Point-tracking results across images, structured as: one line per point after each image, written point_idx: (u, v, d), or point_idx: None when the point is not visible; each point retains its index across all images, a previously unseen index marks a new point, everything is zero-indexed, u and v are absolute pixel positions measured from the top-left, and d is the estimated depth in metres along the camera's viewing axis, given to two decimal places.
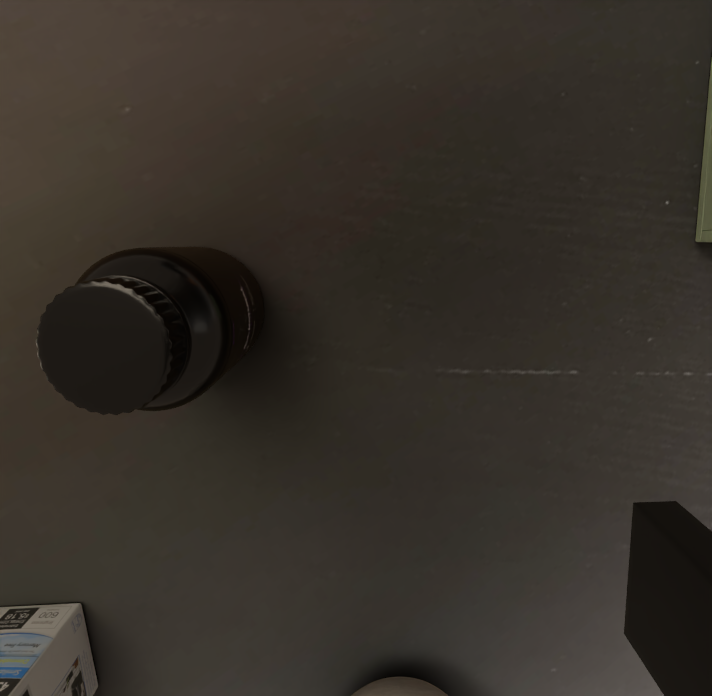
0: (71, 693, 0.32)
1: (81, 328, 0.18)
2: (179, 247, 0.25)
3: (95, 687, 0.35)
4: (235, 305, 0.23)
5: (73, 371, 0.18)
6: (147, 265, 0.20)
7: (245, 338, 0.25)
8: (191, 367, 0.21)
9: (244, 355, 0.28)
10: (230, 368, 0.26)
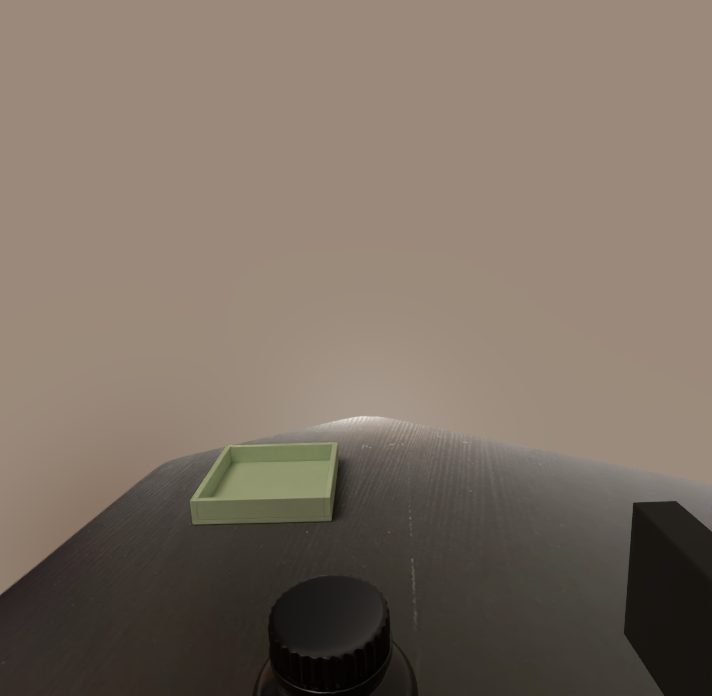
0: None
1: (307, 623, 0.20)
2: None
3: None
4: None
5: (345, 631, 0.20)
6: (270, 659, 0.22)
7: None
8: None
9: None
10: None
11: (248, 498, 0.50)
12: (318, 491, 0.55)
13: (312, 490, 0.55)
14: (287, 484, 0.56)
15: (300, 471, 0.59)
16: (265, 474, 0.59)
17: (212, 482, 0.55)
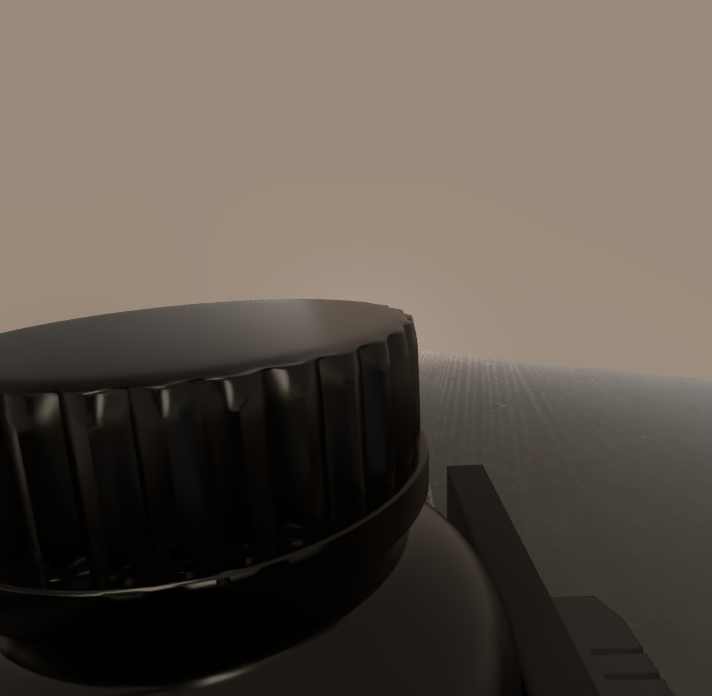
0: None
1: (87, 340, 0.05)
2: None
3: None
4: None
5: (230, 342, 0.04)
6: None
7: None
8: None
9: None
10: None
11: None
12: None
13: None
14: None
15: None
16: None
17: None
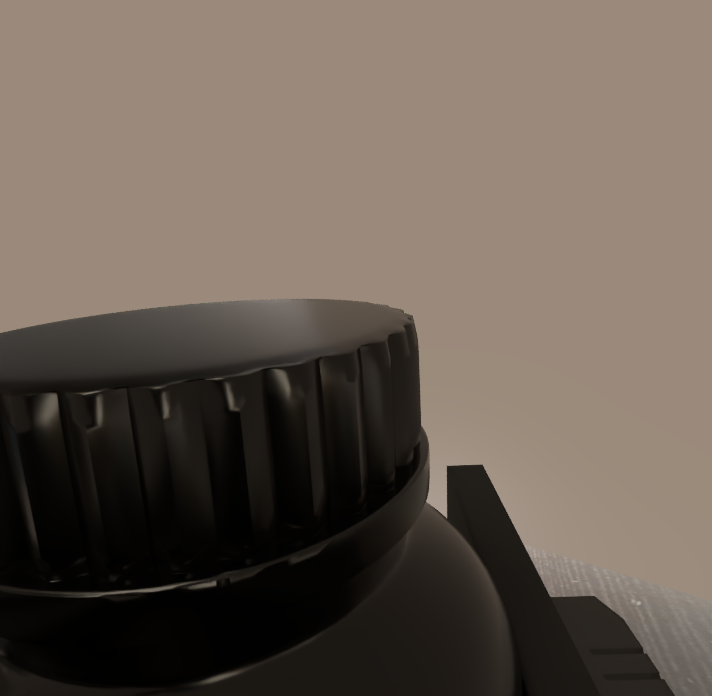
0: None
1: (86, 340, 0.05)
2: None
3: None
4: None
5: (230, 342, 0.04)
6: None
7: None
8: None
9: None
10: None
11: None
12: None
13: None
14: None
15: None
16: None
17: None
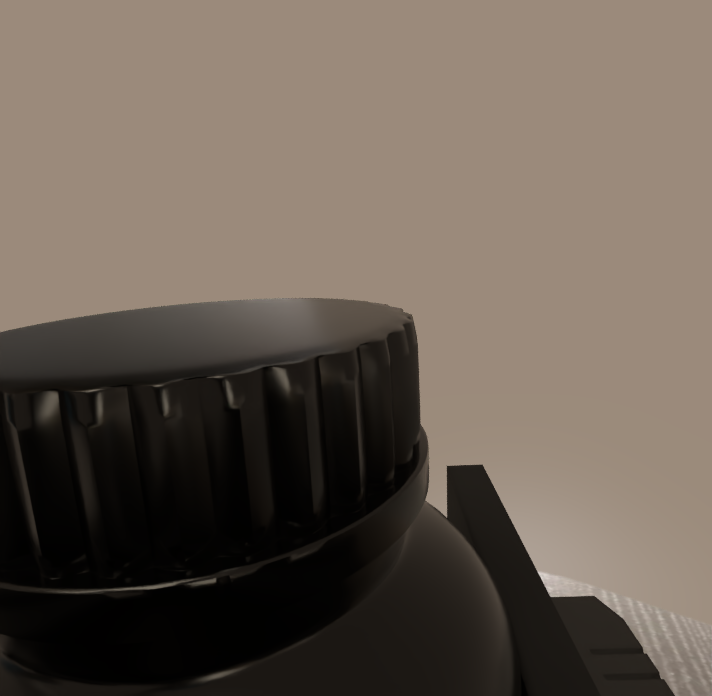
0: None
1: (87, 339, 0.05)
2: None
3: None
4: None
5: (230, 340, 0.04)
6: None
7: None
8: None
9: None
10: None
11: None
12: None
13: None
14: None
15: None
16: None
17: None
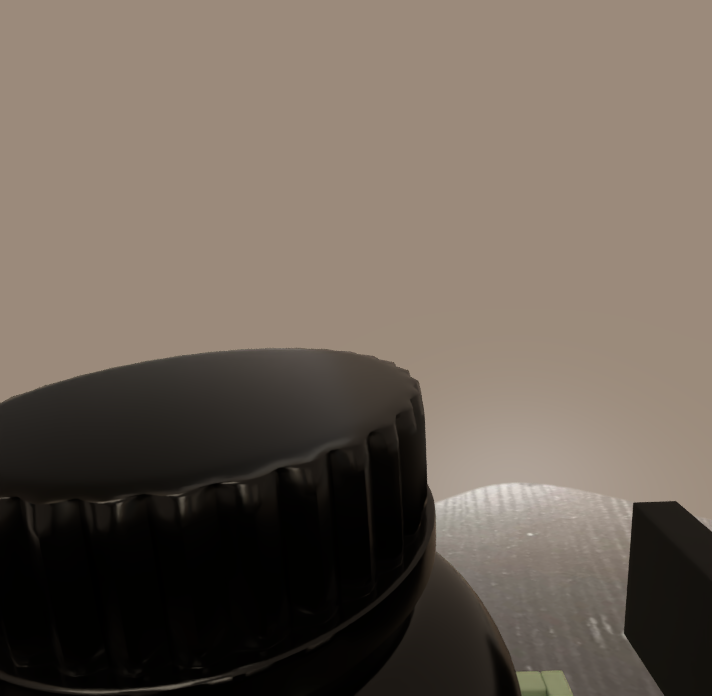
0: None
1: (100, 415, 0.05)
2: None
3: None
4: None
5: (242, 424, 0.05)
6: None
7: None
8: None
9: None
10: None
11: None
12: None
13: None
14: None
15: None
16: None
17: None
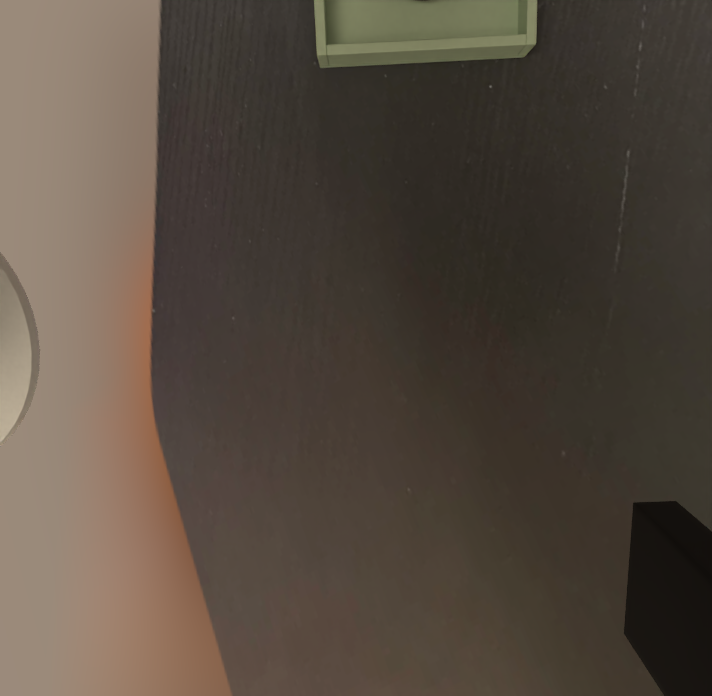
0: None
1: None
2: None
3: None
4: None
5: None
6: None
7: None
8: None
9: None
10: None
11: (408, 47, 0.32)
12: None
13: None
14: None
15: None
16: None
17: None
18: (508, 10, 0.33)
